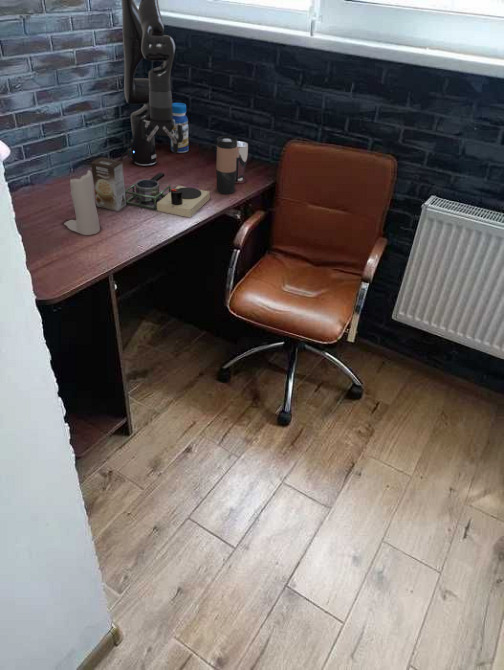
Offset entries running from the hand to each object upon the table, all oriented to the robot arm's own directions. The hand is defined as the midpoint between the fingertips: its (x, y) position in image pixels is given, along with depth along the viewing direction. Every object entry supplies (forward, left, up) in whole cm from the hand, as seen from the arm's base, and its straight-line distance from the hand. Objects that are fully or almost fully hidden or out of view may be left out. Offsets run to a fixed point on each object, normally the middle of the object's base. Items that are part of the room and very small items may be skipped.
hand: (163, 152), depth 177 cm
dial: (+8, -7, -14) cm, 18 cm away
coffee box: (-15, -14, -18) cm, 27 cm away
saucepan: (-5, 0, -17) cm, 18 cm away
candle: (-15, -33, -18) cm, 40 cm away
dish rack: (-5, -4, -18) cm, 19 cm away
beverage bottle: (-19, +52, -18) cm, 58 cm away
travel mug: (+17, +18, -18) cm, 31 cm away
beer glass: (+18, +30, -18) cm, 40 cm away
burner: (+8, +2, -15) cm, 17 cm away
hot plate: (+8, -1, -18) cm, 19 cm away
